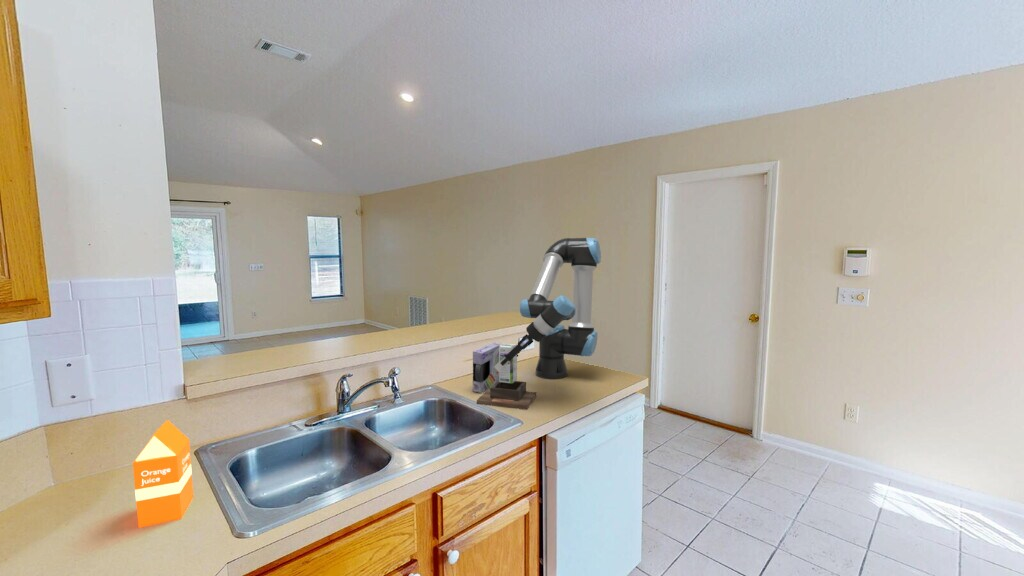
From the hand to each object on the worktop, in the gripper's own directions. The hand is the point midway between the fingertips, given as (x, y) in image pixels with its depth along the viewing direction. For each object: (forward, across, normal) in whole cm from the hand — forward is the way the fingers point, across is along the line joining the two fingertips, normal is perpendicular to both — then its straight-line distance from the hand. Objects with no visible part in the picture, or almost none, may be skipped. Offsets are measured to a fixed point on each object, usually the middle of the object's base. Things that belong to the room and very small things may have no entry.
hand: (499, 366), depth 164 cm
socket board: (+6, -1, -12) cm, 13 cm away
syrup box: (+1, 0, -7) cm, 7 cm away
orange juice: (+45, -90, +25) cm, 103 cm away
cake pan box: (+16, +12, -3) cm, 20 cm away
